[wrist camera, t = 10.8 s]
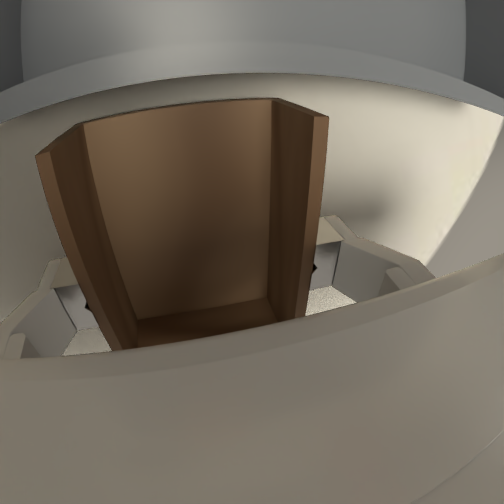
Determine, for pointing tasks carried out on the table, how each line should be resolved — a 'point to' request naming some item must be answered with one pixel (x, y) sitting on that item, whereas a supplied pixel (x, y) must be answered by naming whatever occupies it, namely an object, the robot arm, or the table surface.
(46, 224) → the table surface
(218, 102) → the small wooden box
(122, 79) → the tray
